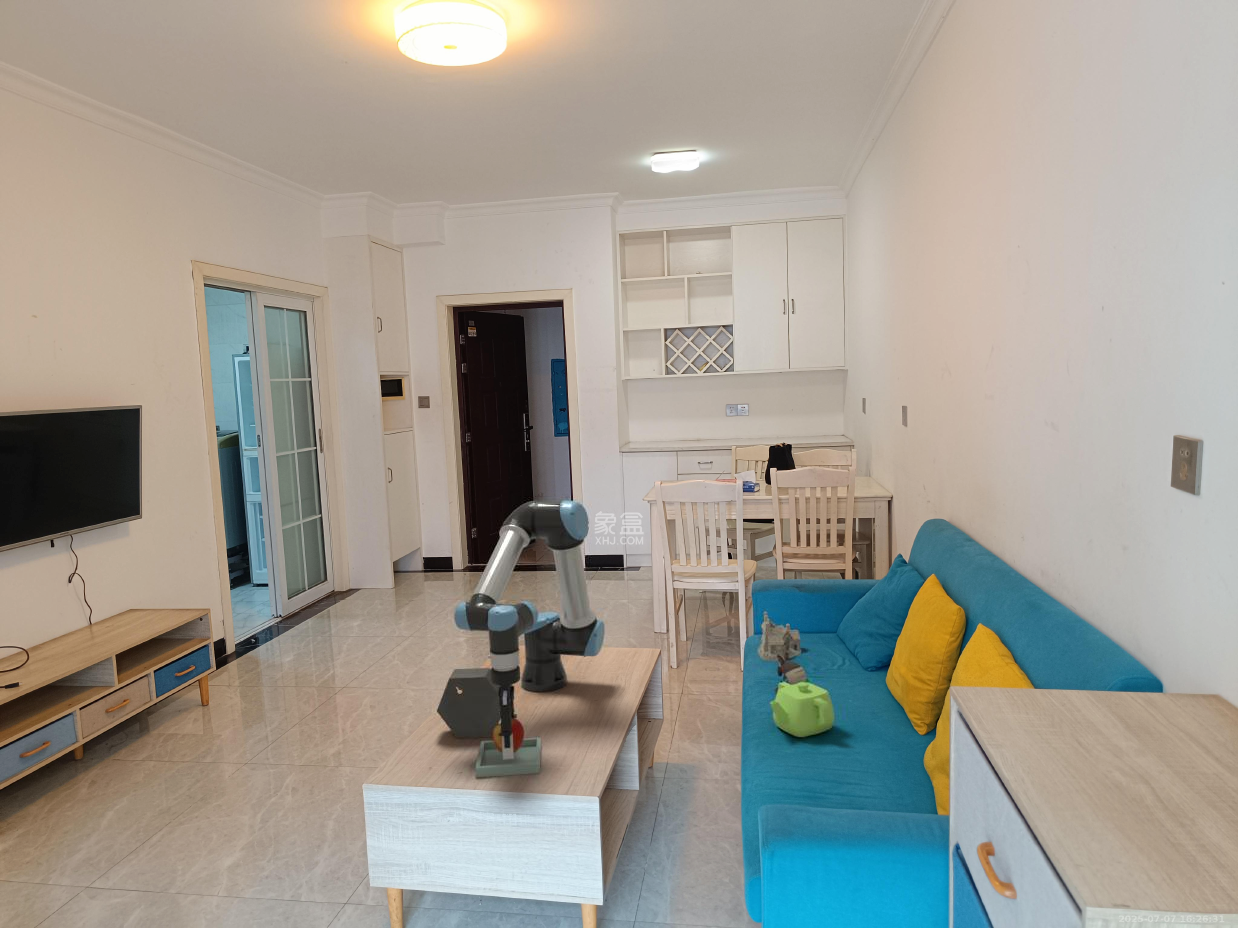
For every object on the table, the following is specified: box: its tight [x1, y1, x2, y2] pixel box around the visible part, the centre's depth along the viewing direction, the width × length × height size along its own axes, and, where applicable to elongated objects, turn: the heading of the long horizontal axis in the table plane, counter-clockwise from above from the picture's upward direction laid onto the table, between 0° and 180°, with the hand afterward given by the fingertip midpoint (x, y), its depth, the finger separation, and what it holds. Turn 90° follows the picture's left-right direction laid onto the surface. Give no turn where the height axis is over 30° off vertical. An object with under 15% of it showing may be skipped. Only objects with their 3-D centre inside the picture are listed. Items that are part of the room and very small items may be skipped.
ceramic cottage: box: [757, 611, 802, 662], centre depth 289 cm, size 16×16×15 cm
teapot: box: [769, 681, 835, 738], centre depth 223 cm, size 18×20×13 cm
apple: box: [492, 718, 525, 753], centre depth 211 cm, size 8×8×10 cm
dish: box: [474, 736, 542, 778], centre depth 211 cm, size 16×16×2 cm
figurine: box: [774, 652, 814, 695], centre depth 252 cm, size 11×12×12 cm
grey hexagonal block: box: [436, 667, 501, 739], centre depth 230 cm, size 17×8×21 cm
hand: (509, 750), depth 211 cm, fingers closed on apple, 8 cm apart
